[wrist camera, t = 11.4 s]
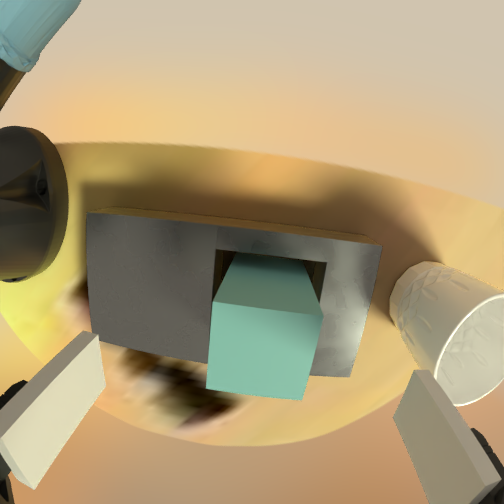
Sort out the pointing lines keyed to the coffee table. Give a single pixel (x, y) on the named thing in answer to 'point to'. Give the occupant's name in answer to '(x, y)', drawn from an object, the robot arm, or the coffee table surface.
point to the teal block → (263, 328)
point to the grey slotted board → (215, 279)
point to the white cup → (452, 328)
